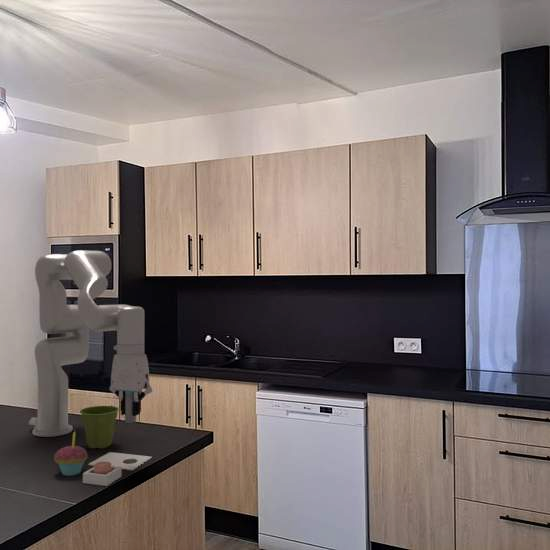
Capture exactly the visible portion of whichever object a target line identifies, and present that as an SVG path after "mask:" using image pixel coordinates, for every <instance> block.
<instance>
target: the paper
mask: <svg viewBox="0 0 550 550" xmlns="http://www.w3.org/2000/svg"><path fill="white" fill-rule="evenodd" d="M151 459H153V457H152V456H148V455H140V454H138V455H137V454H131V453H130V454H129V453H121V452H112V451H109V452H107V453H105V454H104V455H102V456H100V457H98V458H96V459H95V460H93V461H91V462H89V463H88V464H87V466H91V467H94V464H95V463H98V462H110V463H111V466H116V467H122V468H121V470H125V469H126V471H134V470H135V469H138V468H139V467H140V466H141V464H142V465H143V464H145V463H147V461H150V460H151ZM144 462H145V463H144ZM138 466H139V467H138Z"/></svg>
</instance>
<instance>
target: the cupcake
mask: <svg viewBox="0 0 550 550" xmlns="http://www.w3.org/2000/svg"><path fill="white" fill-rule="evenodd" d="M73 430H74V432H73V433H72V442H71V445H65V446H63V447H62V448H59V449H58V450H57V451H56V452H55V453H54V455H53V459H54V462H55V464H58V465H59V468H60V471H61V475H62V476H67V477H68V476H69V477H70V476H76V475H79V474H80V473H81V472H82V468H83V466H84V463H85V461H86V460H87V459H88V452H87V449H85V447H82V446H80V445H76V444H75V443H76V429H73Z"/></svg>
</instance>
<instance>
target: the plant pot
mask: <svg viewBox="0 0 550 550" xmlns="http://www.w3.org/2000/svg"><path fill="white" fill-rule="evenodd" d="M119 411H120V408H119V406H114V405H95V406H88V407H84V408H81V409H80V410H79V413H80V414H81V418H82V419H81V420H82V421H83V425H84V432H85V438H86V445H87V447H88V448H90V449H97V448H98V449H105V448H109V447H110V446H111V445H112V443H113V438H114V432H115V427H116V422H117V421H116V419H118V418H117V417H118V412H119Z"/></svg>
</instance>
